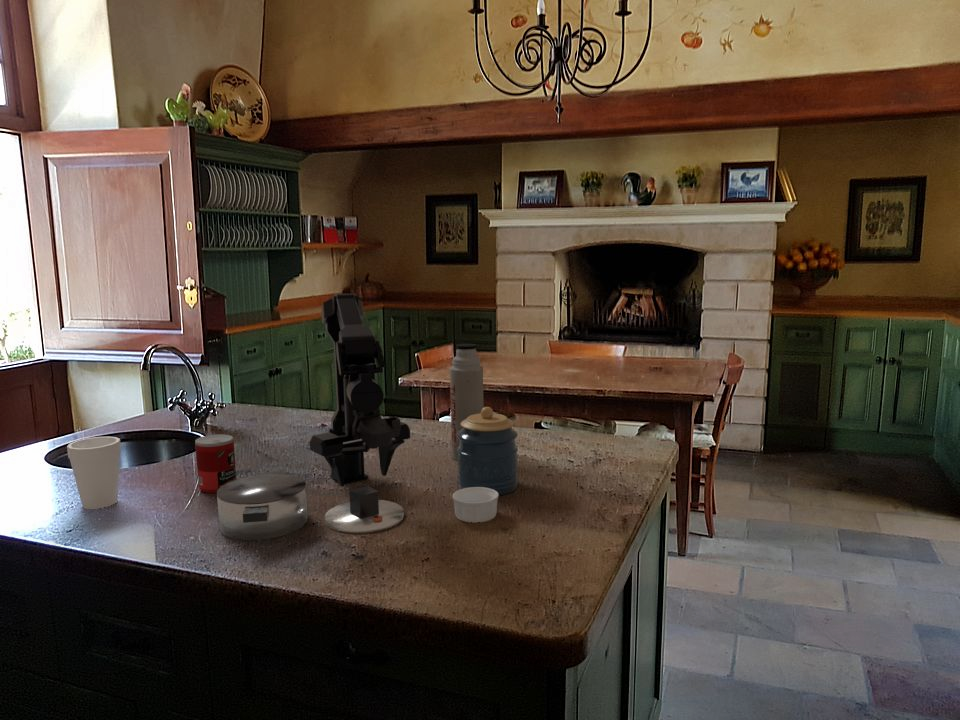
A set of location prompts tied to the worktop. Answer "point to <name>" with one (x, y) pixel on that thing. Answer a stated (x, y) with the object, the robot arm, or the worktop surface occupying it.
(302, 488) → the pot
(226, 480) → the canned food
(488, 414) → the canister
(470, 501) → the ramekin
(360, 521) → the lid
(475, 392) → the thermos bottle
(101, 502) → the foam cup
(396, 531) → the worktop surface
